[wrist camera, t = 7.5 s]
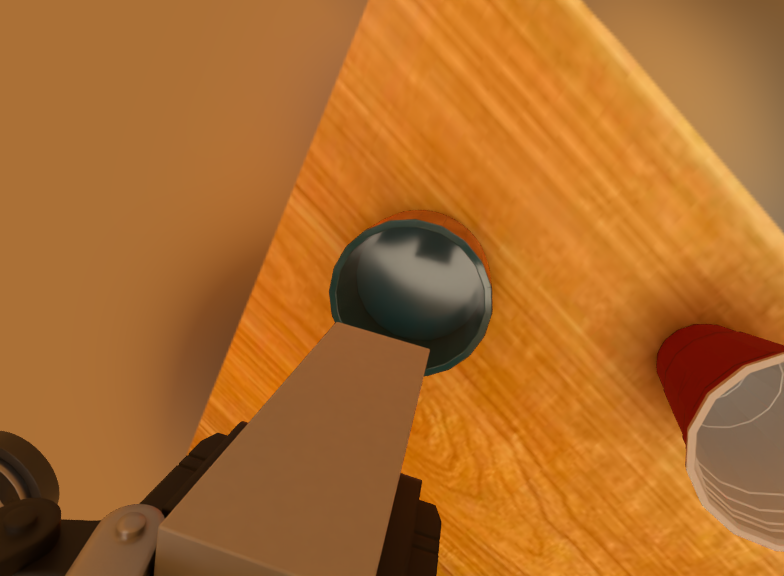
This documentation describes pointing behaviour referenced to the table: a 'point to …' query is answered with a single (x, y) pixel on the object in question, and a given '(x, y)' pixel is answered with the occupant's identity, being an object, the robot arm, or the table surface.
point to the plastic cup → (730, 425)
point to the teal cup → (416, 285)
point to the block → (306, 470)
